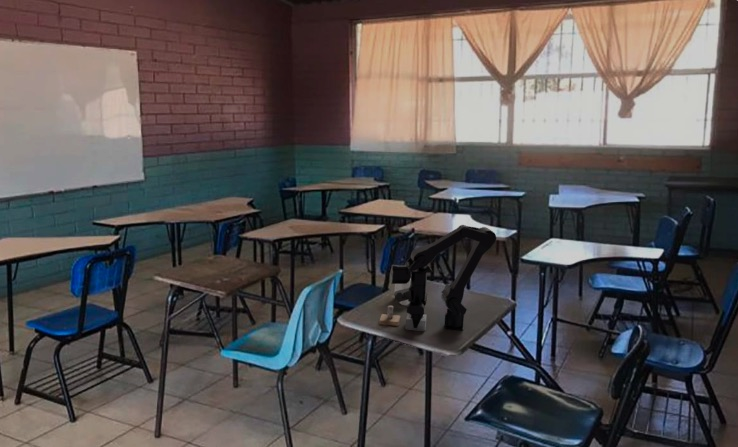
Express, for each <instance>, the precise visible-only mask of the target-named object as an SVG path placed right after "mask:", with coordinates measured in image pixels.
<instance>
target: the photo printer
mask: <svg viewBox="0 0 738 447" xmlns="http://www.w3.org/2000/svg"><path fill="white" fill-rule="evenodd" d="M410 284H411V278H410V281H409V282H408V283H407V284H394V293H395V292H396V291H399V290H403V289H407V288H409V287H410ZM393 296H394V295H393ZM393 298H395V296H394V297H393ZM409 303H410V302H409V301H408V300H405V301H401V302H399V304H400V305H402V306H407V305H408V304H409Z"/></svg>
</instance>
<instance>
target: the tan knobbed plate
mask: <svg viewBox="0 0 738 447" xmlns="http://www.w3.org/2000/svg"><path fill="white" fill-rule="evenodd" d="M400 322H401V315H398V314H394V306H393V305H388V306H387V314H386V313H381V316H380V318H379V325H385V326H395V327H398V326H400V325H399V324H400Z"/></svg>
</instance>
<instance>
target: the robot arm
mask: <svg viewBox="0 0 738 447" xmlns="http://www.w3.org/2000/svg"><path fill="white" fill-rule="evenodd" d="M464 239H470V240H473V242H472V248H471V249H470V252H469V253H468V255H467V257H466V259H465V261H464V263H463V264H462V267H461V268H460V269H459V272H458V274H457V275H456V277H455V279H454V280H453V282H451V283H450V284H449V283H446V284H445V286H444V288H443V290H442V291H441V301H442V302H443V303H444V305H445V307H446V308H447V309H446V312H445V314H444V324H443V325H444V326H445V329H447V330H459V331H463V330H464V325H465V324H464V323H465V322H464V321H465V315H466V313H467V310H468V309H467V308H466V306H465V305H464V304H463V303H462V302H463V298H464V295H465V294H464V293H465V288H466V286H467V285H468V283H469V281H470V280H471V277H472V276H473V274H474V272H475V270H476V268H477V267H478V265H479V263H480V261H481V260H482V258H483V256H484V255H485V254H486V253H487V252H488V251H489V250H491V248H492V247H493V246H494V245H495V243H496V241H497V234H496V233H495V232H494V231H493V230H492V229H490V228H489V227H486V226H482V227H475V226H468V225H465V224H461V225H459V226H458V227H457V228H455V229H453V230H452V231H450V232H449V233H447V234H445V235H443V236H442V237H440V238H438V239H437V240H435V241H433V242H432V243H429V244H426V245H422V246H419V247H416V248H415V249H413V250H412V251H411V254H410V257H409V258H408V259H407V260H406V261H405V263H404V265H401V264H400V265H398V264H391V269H390V272H389V283H390V285H395V284H407V283H408V282H409V281H410V279H411V284H410V287H409V288H407V289H403V290H399V291H396V292H395V291H394V294H393V296H395V297H394V300H395V302H396V303H399V302H401V301H405V300H408V301H409V302H410V303H409V304H408V305H406V313H407V314H408V313H409V314H410V315H411V316H412V321H413V326H414V328H417V327H418V325H419V322H420V320H421V318H422V316H423V315H424V314H425V311H426V310H425V309H426V305H427V301H428V293H427V277H428V273H430V274H431V273H433V272H434V271H433V270H432V268H431V267H430V266H429V264H430V263H431V262H433V261H434V260H435V258H436V257H437V256H438V255H439V254H441V253H442V252H444V251H446V250H448V249H449V248H450V247H453V246H454V245H455V244H458V243H459V242H461V241H462V240H464ZM399 304H400V303H399Z"/></svg>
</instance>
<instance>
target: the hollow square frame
mask: <svg viewBox="0 0 738 447" xmlns="http://www.w3.org/2000/svg"><path fill="white" fill-rule="evenodd" d="M427 315H428V314H425V313H424V315H423V316H422V318H421V320H420V322H419V325H418V327H417V328H414V326H413V321H412V316H411V315H410V314H409V313H407V315H406V318H405V330H406V331H415V332H425V331H426V329H427V327H426V326H427Z"/></svg>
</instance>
